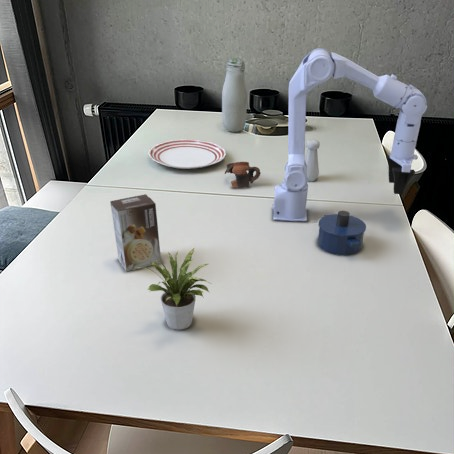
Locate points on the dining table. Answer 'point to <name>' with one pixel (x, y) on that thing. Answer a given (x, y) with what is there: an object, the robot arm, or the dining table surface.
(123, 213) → the cracker box
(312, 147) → the salt shaker
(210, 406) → the dining table surface
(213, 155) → the dinner plate
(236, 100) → the glass bottle
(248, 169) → the pottery mug
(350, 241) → the pot
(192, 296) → the house plant
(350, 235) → the lid
